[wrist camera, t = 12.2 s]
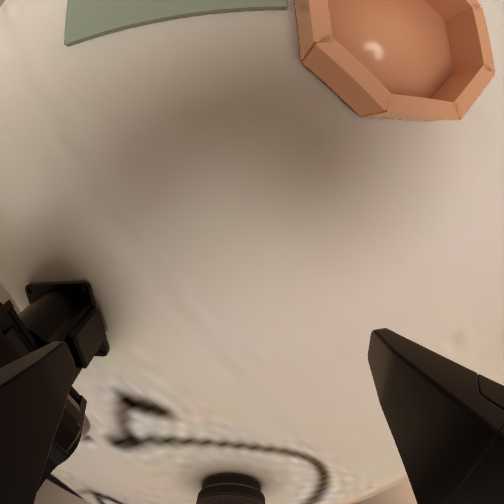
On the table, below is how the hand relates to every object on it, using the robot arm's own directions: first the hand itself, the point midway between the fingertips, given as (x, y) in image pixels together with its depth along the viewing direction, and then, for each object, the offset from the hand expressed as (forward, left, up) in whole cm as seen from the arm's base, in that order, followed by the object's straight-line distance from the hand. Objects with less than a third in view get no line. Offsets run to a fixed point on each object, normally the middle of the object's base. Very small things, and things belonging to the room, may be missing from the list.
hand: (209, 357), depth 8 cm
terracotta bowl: (+11, +13, -13) cm, 21 cm away
